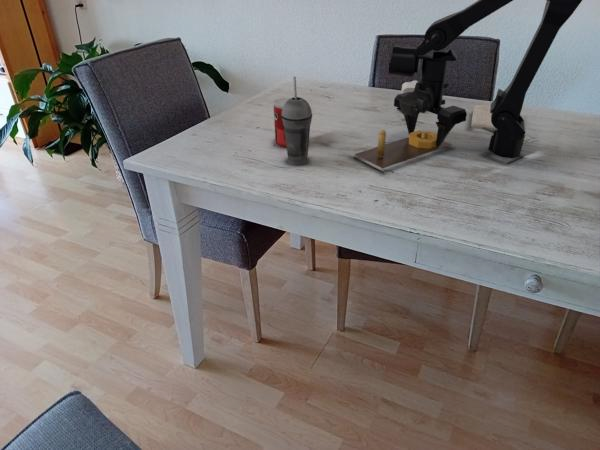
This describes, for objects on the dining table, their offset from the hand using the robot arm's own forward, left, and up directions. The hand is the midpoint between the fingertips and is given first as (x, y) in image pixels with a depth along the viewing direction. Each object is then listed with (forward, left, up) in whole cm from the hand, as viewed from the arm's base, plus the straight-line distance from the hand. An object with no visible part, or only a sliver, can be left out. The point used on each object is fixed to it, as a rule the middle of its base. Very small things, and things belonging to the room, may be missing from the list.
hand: (424, 140), depth 116 cm
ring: (0, 0, -1) cm, 1 cm away
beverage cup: (+12, +31, -2) cm, 33 cm away
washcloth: (0, -29, -2) cm, 29 cm away
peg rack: (0, +7, -2) cm, 7 cm away
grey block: (+24, -21, -2) cm, 32 cm away
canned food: (+23, +26, -2) cm, 35 cm away
